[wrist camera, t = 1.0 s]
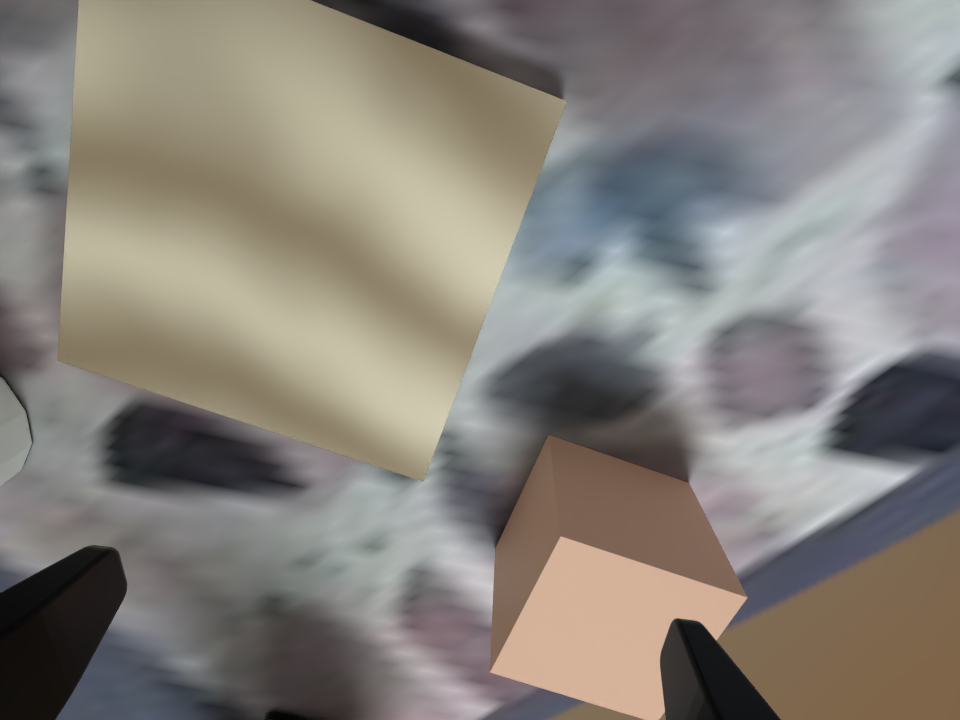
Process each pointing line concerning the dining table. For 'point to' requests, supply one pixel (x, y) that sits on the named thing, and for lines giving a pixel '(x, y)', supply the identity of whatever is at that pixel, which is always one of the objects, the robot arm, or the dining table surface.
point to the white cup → (12, 434)
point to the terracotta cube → (603, 578)
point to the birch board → (290, 216)
